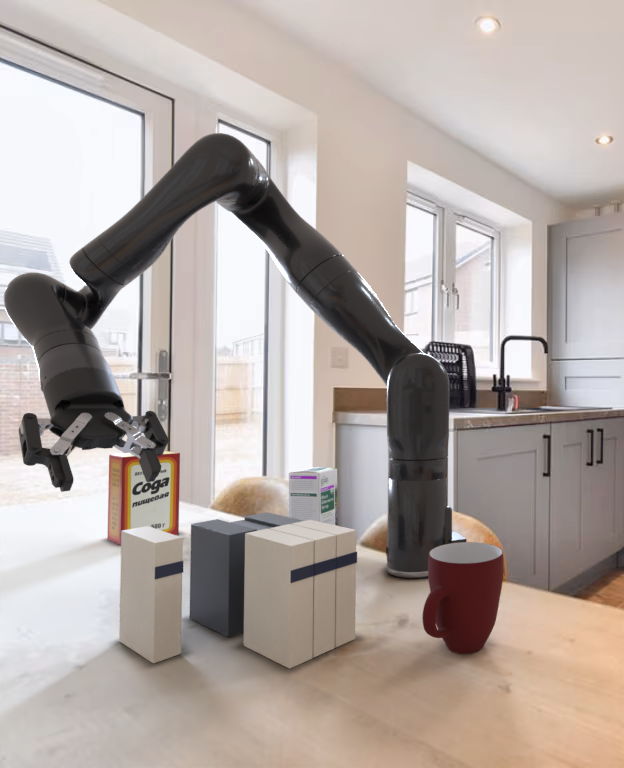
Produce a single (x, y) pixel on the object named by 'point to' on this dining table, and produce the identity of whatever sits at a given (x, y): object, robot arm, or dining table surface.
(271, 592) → the white books
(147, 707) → the dining table surface
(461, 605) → the mug
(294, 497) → the syrup box
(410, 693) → the dining table surface
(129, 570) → the white book
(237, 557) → the grey books
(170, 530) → the baking soda box
